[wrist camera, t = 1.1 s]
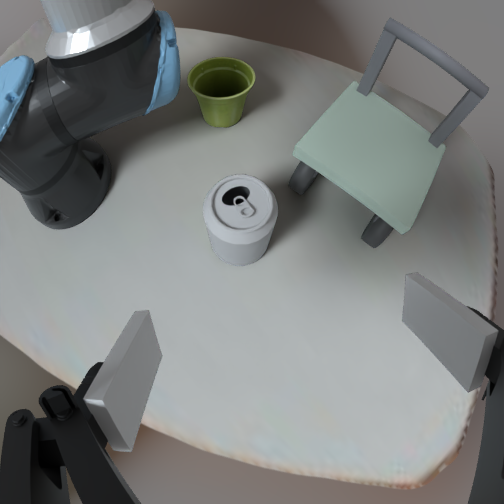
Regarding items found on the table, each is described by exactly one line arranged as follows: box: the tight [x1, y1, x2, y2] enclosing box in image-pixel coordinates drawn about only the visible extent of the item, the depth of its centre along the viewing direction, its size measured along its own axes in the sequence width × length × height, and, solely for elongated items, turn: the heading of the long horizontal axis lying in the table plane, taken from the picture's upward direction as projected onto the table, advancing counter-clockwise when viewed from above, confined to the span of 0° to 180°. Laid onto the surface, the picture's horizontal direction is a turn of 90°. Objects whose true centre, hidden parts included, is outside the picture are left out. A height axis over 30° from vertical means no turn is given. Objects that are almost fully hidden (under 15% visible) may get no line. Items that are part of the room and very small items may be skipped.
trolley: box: [288, 18, 489, 248], centre depth 33 cm, size 16×18×23 cm
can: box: [203, 174, 278, 266], centre depth 35 cm, size 8×8×12 cm
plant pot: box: [187, 57, 255, 127], centre depth 42 cm, size 9×9×9 cm
